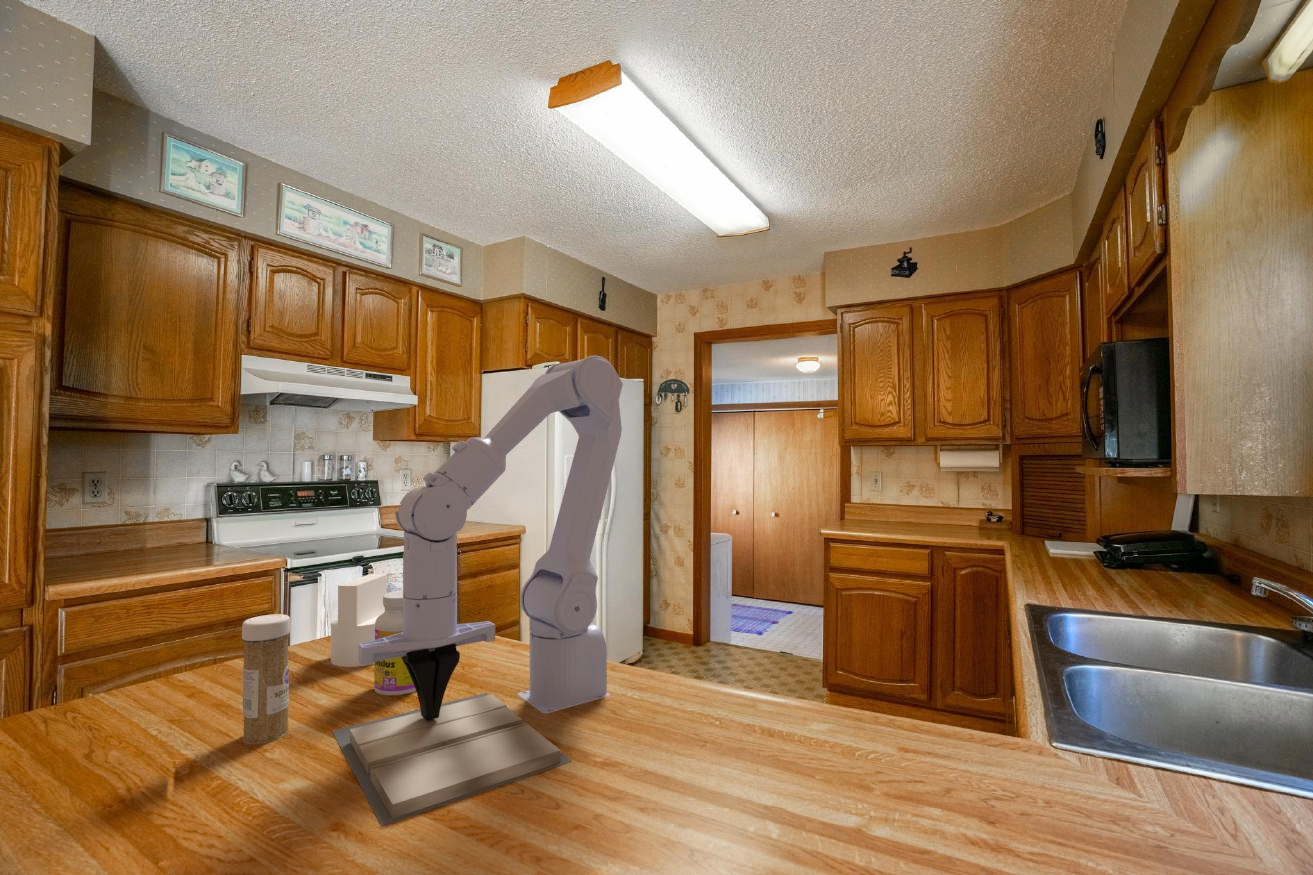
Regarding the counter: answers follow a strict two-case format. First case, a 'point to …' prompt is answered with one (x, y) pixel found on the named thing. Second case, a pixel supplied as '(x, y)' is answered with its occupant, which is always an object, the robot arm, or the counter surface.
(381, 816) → the plate
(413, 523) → the robot arm
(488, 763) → the plank
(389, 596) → the supplement bottle
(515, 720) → the loose plank
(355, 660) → the base with upright slab
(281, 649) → the sprinkles bottle
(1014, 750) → the counter surface
